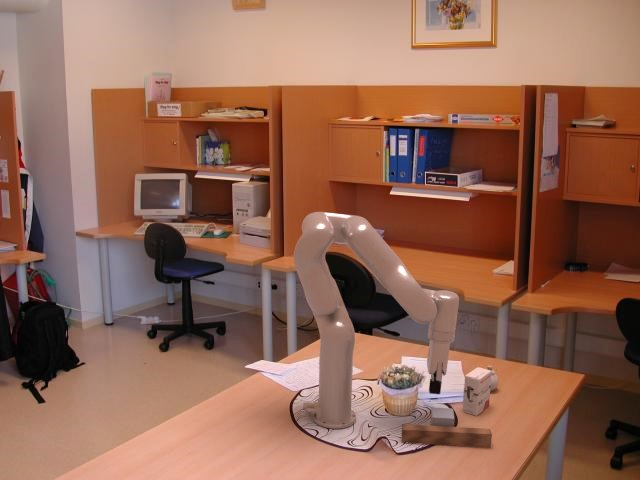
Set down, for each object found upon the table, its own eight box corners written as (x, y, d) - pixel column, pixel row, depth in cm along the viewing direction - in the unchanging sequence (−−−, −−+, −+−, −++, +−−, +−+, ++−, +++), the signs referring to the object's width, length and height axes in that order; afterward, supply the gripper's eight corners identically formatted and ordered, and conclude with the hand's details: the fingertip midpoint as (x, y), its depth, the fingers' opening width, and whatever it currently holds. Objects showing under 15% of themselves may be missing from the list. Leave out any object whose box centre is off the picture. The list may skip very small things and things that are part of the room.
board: (401, 442, 197) (402, 429, 196) (401, 437, 200) (402, 424, 199) (490, 447, 196) (491, 434, 195) (489, 441, 199) (490, 428, 198)
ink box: (475, 401, 222) (477, 365, 220) (489, 406, 219) (492, 370, 217) (461, 411, 216) (464, 374, 213) (476, 416, 213) (479, 379, 210)
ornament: (490, 384, 234) (493, 355, 232) (504, 394, 228) (506, 364, 225) (474, 387, 232) (476, 358, 230) (487, 397, 225) (490, 367, 223)
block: (431, 436, 201) (432, 417, 200) (430, 426, 207) (431, 407, 205) (453, 438, 200) (454, 418, 199) (451, 427, 206) (452, 408, 205)
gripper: (426, 323, 214) (420, 380, 218) (430, 342, 200) (423, 403, 204) (452, 325, 214) (444, 383, 218) (457, 344, 199) (449, 405, 203)
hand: (434, 392), depth 211 cm, fingers closed
